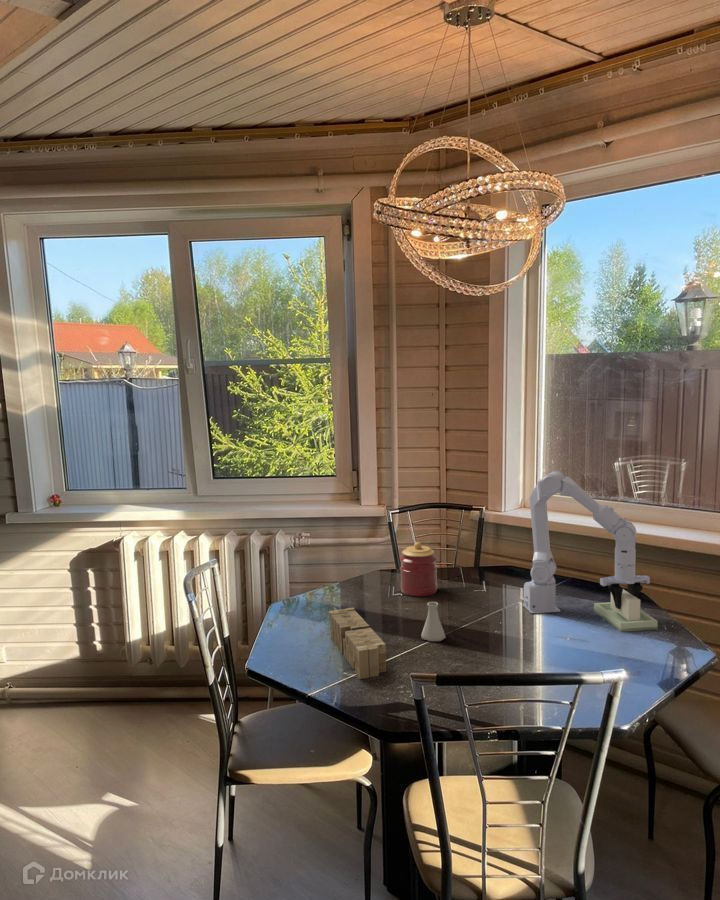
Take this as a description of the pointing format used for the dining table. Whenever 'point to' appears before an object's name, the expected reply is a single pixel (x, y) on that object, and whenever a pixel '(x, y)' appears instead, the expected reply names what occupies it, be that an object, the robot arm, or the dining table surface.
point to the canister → (418, 571)
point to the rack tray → (621, 622)
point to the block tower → (358, 643)
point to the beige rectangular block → (628, 606)
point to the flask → (433, 625)
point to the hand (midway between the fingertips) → (624, 607)
